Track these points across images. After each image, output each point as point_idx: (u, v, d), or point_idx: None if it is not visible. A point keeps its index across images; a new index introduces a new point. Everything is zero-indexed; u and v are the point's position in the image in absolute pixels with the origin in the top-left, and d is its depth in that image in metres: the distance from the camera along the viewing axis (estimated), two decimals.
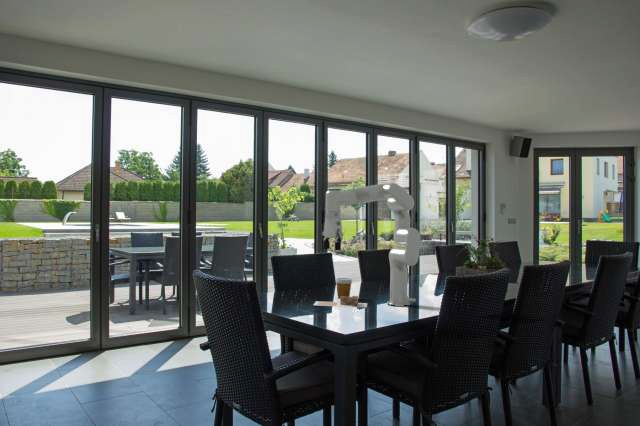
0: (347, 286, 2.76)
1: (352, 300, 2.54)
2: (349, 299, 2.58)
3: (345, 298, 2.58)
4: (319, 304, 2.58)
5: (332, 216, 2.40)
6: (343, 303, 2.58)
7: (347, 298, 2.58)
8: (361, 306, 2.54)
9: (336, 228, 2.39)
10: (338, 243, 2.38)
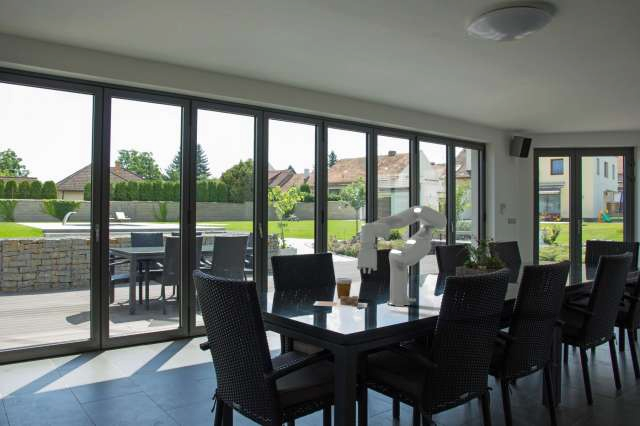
0: (347, 286, 2.76)
1: (352, 300, 2.54)
2: (349, 299, 2.58)
3: (345, 298, 2.58)
4: (319, 304, 2.58)
5: (373, 247, 2.55)
6: (343, 303, 2.58)
7: (347, 298, 2.58)
8: (361, 306, 2.54)
9: (376, 258, 2.56)
10: (369, 274, 2.57)
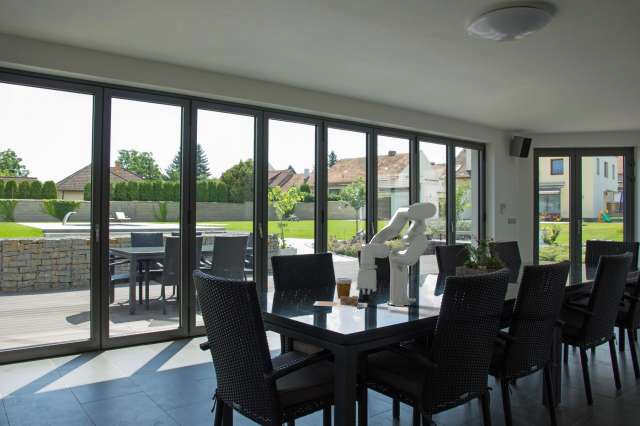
0: (347, 286, 2.76)
1: (352, 300, 2.54)
2: (349, 299, 2.58)
3: (345, 298, 2.58)
4: (319, 304, 2.58)
5: (372, 268, 2.55)
6: (343, 303, 2.58)
7: (347, 298, 2.58)
8: (361, 306, 2.54)
9: None
10: (368, 295, 2.57)
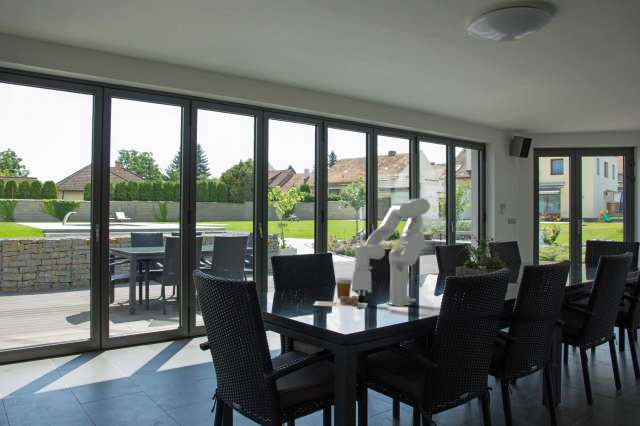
0: (347, 286, 2.76)
1: (352, 300, 2.54)
2: (349, 299, 2.58)
3: (345, 298, 2.58)
4: (319, 304, 2.58)
5: (367, 269, 2.56)
6: (343, 303, 2.58)
7: (347, 298, 2.58)
8: (361, 306, 2.54)
9: None
10: None
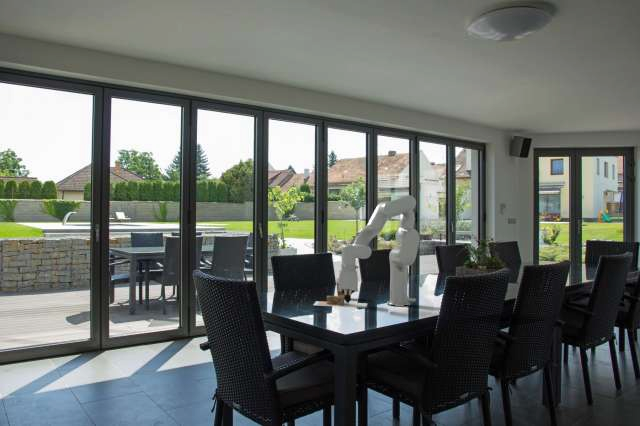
0: None
1: (338, 299, 2.55)
2: (335, 298, 2.59)
3: (331, 297, 2.59)
4: (319, 304, 2.58)
5: (353, 269, 2.57)
6: (329, 302, 2.59)
7: (333, 297, 2.59)
8: (361, 306, 2.54)
9: (357, 280, 2.58)
10: (350, 296, 2.59)
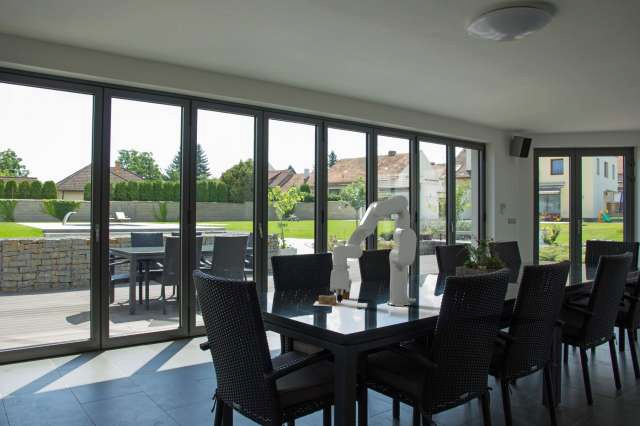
0: None
1: (330, 299, 2.56)
2: (327, 298, 2.59)
3: (323, 297, 2.59)
4: (319, 304, 2.58)
5: (345, 269, 2.57)
6: (321, 302, 2.59)
7: (325, 297, 2.59)
8: (361, 306, 2.54)
9: (348, 280, 2.58)
10: (342, 296, 2.59)
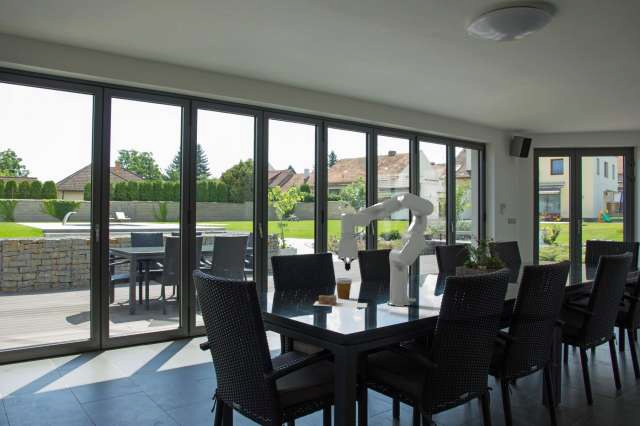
0: (347, 286, 2.76)
1: (330, 299, 2.56)
2: (327, 298, 2.59)
3: (323, 297, 2.59)
4: (319, 304, 2.58)
5: (353, 237, 2.57)
6: (321, 302, 2.59)
7: (325, 297, 2.59)
8: (361, 306, 2.54)
9: (356, 248, 2.58)
10: (350, 264, 2.59)
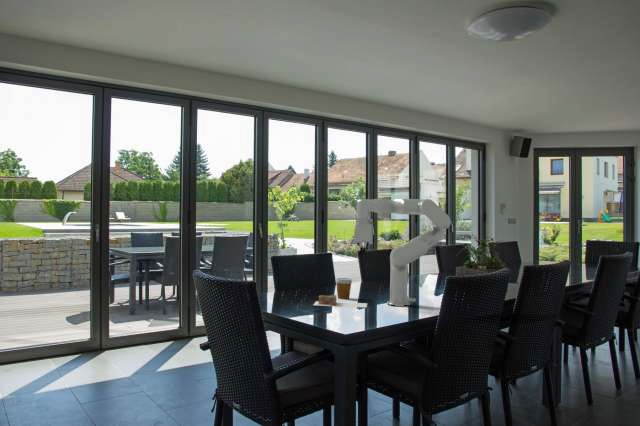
0: (347, 286, 2.76)
1: (330, 299, 2.56)
2: (327, 298, 2.59)
3: (323, 297, 2.59)
4: (319, 304, 2.58)
5: (368, 222, 2.66)
6: (321, 302, 2.59)
7: (325, 297, 2.59)
8: (361, 306, 2.54)
9: None
10: (365, 248, 2.68)
